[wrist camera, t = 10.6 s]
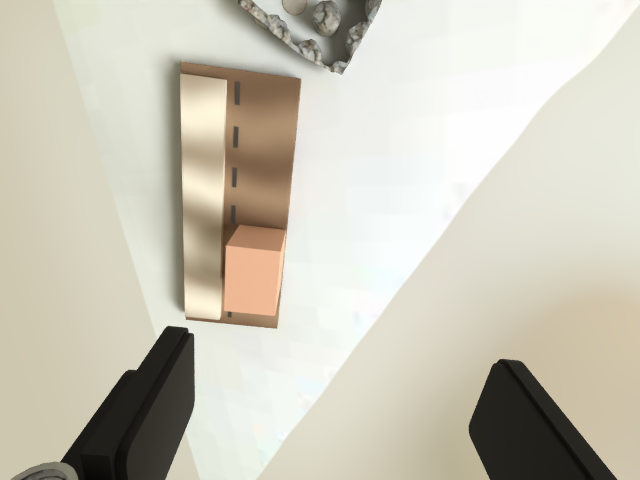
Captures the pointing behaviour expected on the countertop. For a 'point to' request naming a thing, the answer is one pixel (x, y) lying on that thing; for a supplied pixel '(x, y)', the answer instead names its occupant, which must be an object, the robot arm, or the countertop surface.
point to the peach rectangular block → (254, 270)
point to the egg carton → (325, 25)
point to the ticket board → (232, 174)
